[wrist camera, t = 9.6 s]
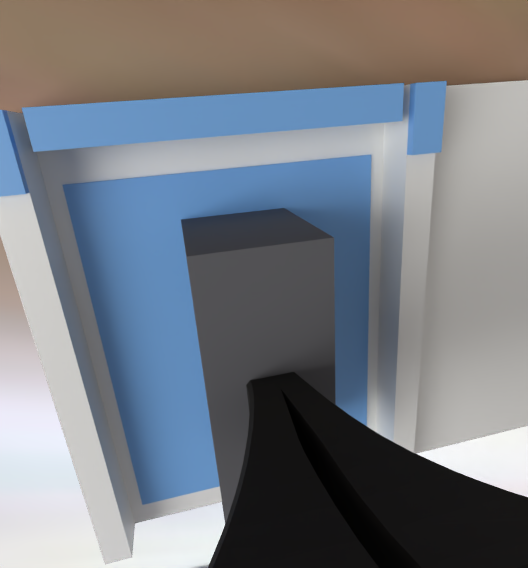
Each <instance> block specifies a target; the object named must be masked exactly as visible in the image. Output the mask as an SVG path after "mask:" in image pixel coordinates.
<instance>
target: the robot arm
mask: <svg viewBox="0 0 528 568" xmlns="http://www.w3.org/2000/svg"><path fill="white" fill-rule="evenodd" d="M246 387H247V396H248V405H249V414H250V415H249V428H248V437H247V443H246V449H245V455H244V460H243V465H242V469H241V474H240V478H239V482H238V485H237V489H236V493H235V496H234V499H233V502H232V506H231V509H230V512H229V515H228V518H227V521H226V524H225V527H224V529H223V532H222V535H221V537H220V540H219V542H218V545H217V547H216V550H215V552H214V554H213V557H212V559H211V562H210V564H209V567H208V568H528V497H525V496H522V495H518V494H515V493H512V492H509V491H506V490H503V489H500V488H498V487H495V486H492V485H489V484H486V483H484V482H481V481H478V480H475V479H473V478H470V477H468V476H465V475H463V474H460V473H458V472H455V471H453V470H450V469H448V468H446V467H444V466H441V465H439V464H437V463H435V462H432V461H430V460H428V459H426V458H424V457H421V456H419V455H417V454H415V453H413V452H411V451H409V450H407V449H405V448H404V447H402V446H400V445H398V444H396V443H394V442H392V441H391V440H389V439H387V438H385V437H383V436H382V435H380V434H378V433H377V432H375V431H373V430H372V429H370V428H369V427H367V426H365V425H364V424H362V423H361V422H359V421H358V420H356V419H355V418H353V417H352V416H350V415H349V414H347V413H346V412H345V411H343V410H342V409H341V408H339V407H338V406H337V405H335V404H334V403H332V402H331V401H330V400H328V399H327V398H326V397H325V396H323V395H322V394H321V393H320V392H318V391H317V390H316V389H315V388H313V387H312V386H311V385H310V384H308V383H307V382H306V381H305V380H304V379H302V378H301V377H300V376H299V375H297V374H296V373H295V372H290V373H285V374H280V375H275V376H270V377H265V378H260V379H255V380H250V381H249V382H248V383H247V385H246Z"/></svg>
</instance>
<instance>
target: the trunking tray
mask: <svg viewBox="0 0 528 568" xmlns="http://www.w3.org/2000/svg"><path fill="white" fill-rule="evenodd" d="M446 84H447V81H438V82H423V83H413V84H409V85H405V86H404V83H397V84H382V85H367V86H351V87H336V88H320V89H305V90H289V91H274V92H258V93H243V94H227V95H212V96H197V97H181V98H166V99H150V100H135V101H119V102H104V103H88V104H73V105H57V106H42V107H27V108H22V111H23V113H17V112H11V111H6V110H0V236H1V239H2V242H3V245H4V248H5V251H6V254H7V257H8V261H9V264H10V267H11V270H12V273H13V276H14V279H15V283H16V286H17V289H18V292H19V295H20V298H21V301H22V305H23V308H24V311H25V314H26V317H27V320H28V323H29V327H30V330H31V333H32V336H33V339H34V342H35V345H36V349H37V352H38V355H39V358H40V361H41V364H42V367H43V371H44V374H45V377H46V380H47V383H48V386H49V389H50V393H51V396H52V399H53V402H54V405H55V408H56V411H57V415H58V418H59V421H60V424H61V427H62V430H63V433H64V437H65V440H66V443H67V446H68V449H69V452H70V455H71V459H72V462H73V465H74V468H75V471H76V474H77V477H78V481H79V484H80V487H81V490H82V493H83V496H84V499H85V503H86V506H87V509H88V512H89V515H90V518H91V521H92V525H93V528H94V531H95V534H96V537H97V540H98V543H99V547H100V550H101V553H102V556H103V559H104V562H105V564H108V563H112V562H116V561H120V560H123V559H127V558H131V557H132V551H133V540H134V528H135V523H138V522H142V521H146V520H150V519H154V518H158V517H162V516H166V515H170V514H175V513H179V512H183V511H187V510H191V509H195V508H199V507H203V506H207V505H211V504H215V503H219V502H222V498H221V491H220V485H219V478H218V471H217V465H216V458H215V451H214V445H213V438H212V431H211V424H210V417H209V410H208V404H207V397H206V390H205V383H204V376H203V369H202V362H201V355H200V348H199V342H198V335H197V328H196V321H195V314H194V307H193V300H192V293H191V286H190V280H189V273H188V266H187V259H186V252H185V245H184V238H183V231H182V224H181V219H190V218H199V217H207V216H216V215H225V214H234V213H243V212H252V211H261V210H270V209H279V208H285V209H287V210H288V211H290V212H292V213H293V214H295V215H297V216H299V217H300V218H302V219H304V220H305V221H307V222H309V223H310V224H312V225H314V226H315V227H317V228H319V229H321V230H322V231H324V232H326V233H327V234H329V235H331V236H332V237H334V287H335V402H336V405H337V406H338V407H339V408H341V409H342V410H343V411H345V412H346V413H347V414H349V415H350V416H352V417H353V418H355V419H356V420H358V421H359V422H361V423H362V424H364V425H365V426H367V427H369V428H370V429H372V430H373V431H375V432H377V433H378V434H380V435H382V436H383V437H385V438H387V439H389V440H391V441H392V442H394V443H396V444H398V445H400V446H402V447H404V448H405V449H407V450H409V451H411V452H413V453H415V454H416V453H420V452H424V451H428V450H432V449H436V448H440V447H444V446H448V445H452V444H456V443H460V442H464V441H468V440H472V439H476V438H480V437H484V436H488V435H492V434H496V433H500V432H504V431H508V430H512V429H516V428H520V427H524V426H528V80H524V81H509V82H495V83H480V84H465V85H450V86H446Z"/></svg>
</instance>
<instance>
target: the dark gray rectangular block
mask: <svg viewBox="0 0 528 568" xmlns="http://www.w3.org/2000/svg"><path fill="white" fill-rule="evenodd" d="M181 224H182V231H183V238H184V245H185V252H186V259H187V266H188V273H189V280H190V286H191V293H192V300H193V307H194V314H195V321H196V328H197V335H198V342H199V348H200V355H201V362H202V369H203V376H204V383H205V390H206V397H207V404H208V410H209V417H210V424H211V431H212V438H213V445H214V451H215V458H216V465H217V471H218V478H219V485H220V491H221V498H222V505H223V511H224V518H225V524H226V521H227V518H228V515H229V512H230V509H231V506H232V502H233V499H234V496H235V493H236V489H237V485H238V482H239V478H240V474H241V469H242V465H243V460H244V455H245V449H246V443H247V437H248V428H249V415H250V414H249V405H248V396H247V387H246V385H247V383H248V382H249V381H250V380H255V379H260V378H265V377H270V376H275V375H280V374H285V373H290V372H295V373H296V374H297V375H299V376H300V377H301V378H302V379H304V380H305V381H306V382H307V383H308V384H310V385H311V386H312V387H313V388H315V389H316V390H317V391H318V392H320V393H321V394H322V395H323V396H325V397H326V398H327V399H328V400H330V401H331V402H332V403H334V404H335V405H336V402H335V287H334V237H332V236H331V235H329V234H327V233H326V232H324V231H322V230H321V229H319V228H317V227H315V226H314V225H312V224H310V223H309V222H307V221H305V220H304V219H302V218H300V217H299V216H297V215H295V214H293V213H292V212H290V211H288V210H287V209H285V208H279V209H270V210H261V211H252V212H243V213H234V214H225V215H216V216H207V217H199V218H190V219H181Z"/></svg>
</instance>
